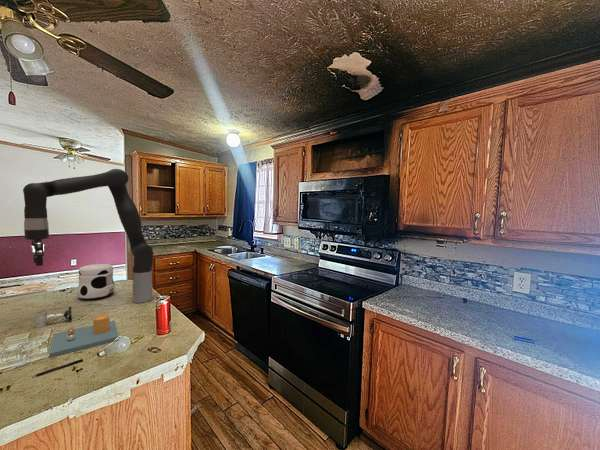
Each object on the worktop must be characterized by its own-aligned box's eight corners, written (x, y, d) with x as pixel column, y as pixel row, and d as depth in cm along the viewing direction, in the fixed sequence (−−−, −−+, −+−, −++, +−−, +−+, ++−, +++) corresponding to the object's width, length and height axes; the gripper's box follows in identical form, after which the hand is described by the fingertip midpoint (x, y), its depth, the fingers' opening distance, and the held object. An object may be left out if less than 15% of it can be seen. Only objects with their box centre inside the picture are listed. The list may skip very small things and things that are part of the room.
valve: (33, 330, 108) (71, 322, 116) (33, 315, 107) (71, 308, 116) (35, 325, 112) (71, 317, 121) (34, 310, 112) (71, 304, 120)
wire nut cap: (108, 326, 110) (108, 313, 110) (109, 331, 106) (109, 317, 106) (93, 330, 107) (93, 316, 106) (93, 334, 103) (93, 320, 102)
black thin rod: (32, 379, 79) (32, 376, 79) (32, 377, 79) (32, 374, 79) (83, 362, 88) (83, 359, 88) (82, 360, 89) (82, 358, 89)
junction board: (114, 323, 116) (114, 320, 116) (118, 340, 102) (118, 336, 102) (54, 337, 103) (53, 333, 103) (49, 357, 89) (49, 353, 89)
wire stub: (75, 337, 101) (75, 327, 100) (75, 339, 99) (75, 330, 98) (66, 339, 99) (66, 329, 99) (66, 341, 97) (66, 331, 97)
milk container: (76, 295, 149) (76, 265, 148) (112, 289, 161) (112, 262, 160) (77, 304, 137) (77, 271, 136) (116, 297, 148) (116, 267, 147)
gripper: (50, 229, 110) (52, 265, 112) (46, 226, 119) (47, 260, 121) (25, 230, 105) (27, 268, 106) (22, 227, 114) (24, 262, 115)
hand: (38, 264), depth 113 cm, fingers open, 8 cm apart
